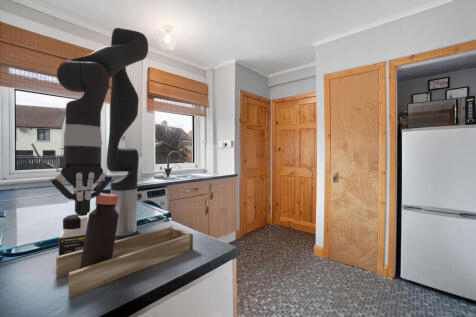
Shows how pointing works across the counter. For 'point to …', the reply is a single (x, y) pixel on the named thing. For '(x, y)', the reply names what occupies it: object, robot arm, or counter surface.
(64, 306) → the counter surface
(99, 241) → the vinegar
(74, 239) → the medicine bottle
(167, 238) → the u rest
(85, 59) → the robot arm
